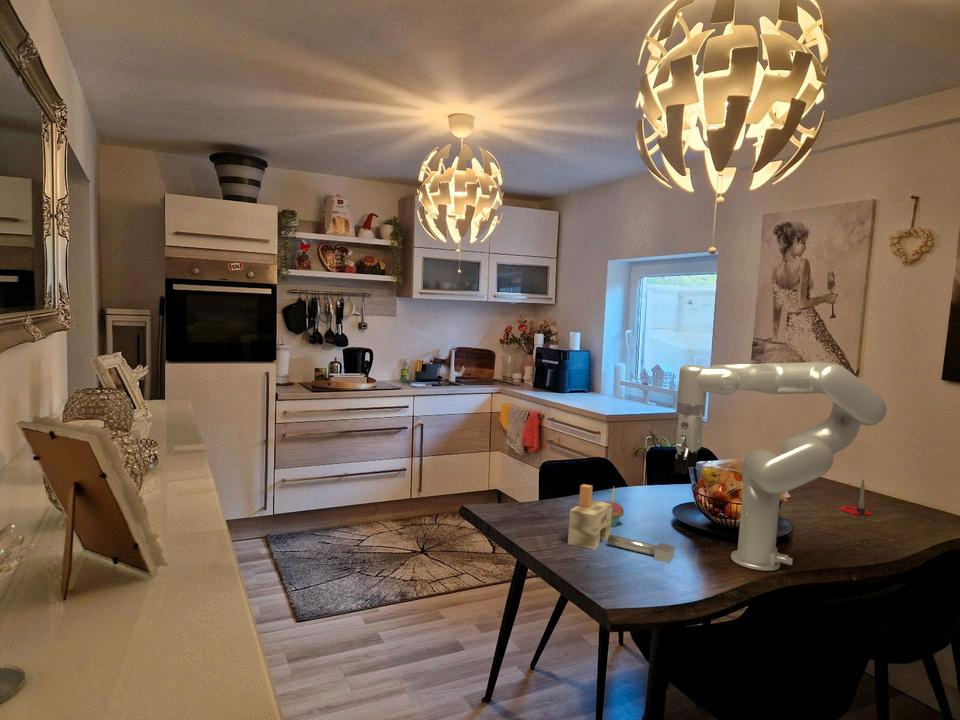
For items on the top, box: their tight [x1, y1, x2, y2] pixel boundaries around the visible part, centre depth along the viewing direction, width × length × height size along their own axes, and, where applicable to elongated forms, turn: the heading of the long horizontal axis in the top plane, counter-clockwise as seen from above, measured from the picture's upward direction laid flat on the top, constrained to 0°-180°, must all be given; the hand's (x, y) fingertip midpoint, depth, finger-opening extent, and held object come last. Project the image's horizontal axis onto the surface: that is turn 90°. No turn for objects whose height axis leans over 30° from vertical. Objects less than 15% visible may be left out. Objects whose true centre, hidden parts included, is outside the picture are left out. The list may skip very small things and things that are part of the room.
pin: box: [606, 534, 675, 564], centre depth 179 cm, size 18×6×3 cm, turn 59°
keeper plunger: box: [578, 483, 594, 508], centre depth 187 cm, size 3×3×7 cm
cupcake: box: [604, 486, 625, 527], centre depth 202 cm, size 9×8×12 cm
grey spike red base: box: [839, 479, 872, 517], centre depth 230 cm, size 8×13×9 cm
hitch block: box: [567, 499, 612, 551], centre depth 186 cm, size 8×14×10 cm, turn 149°
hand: (685, 470), depth 176 cm, fingers open, 9 cm apart
